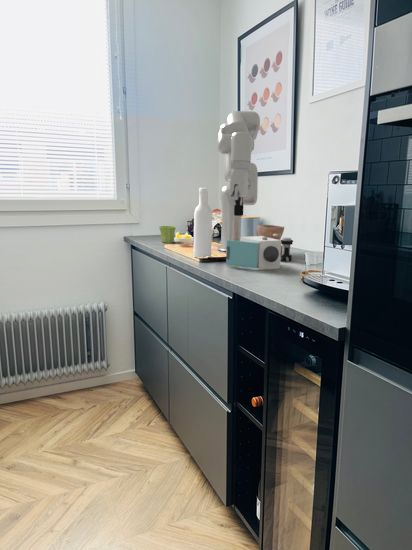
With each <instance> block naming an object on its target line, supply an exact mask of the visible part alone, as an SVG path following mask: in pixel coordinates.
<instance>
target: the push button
mask: <svg viewBox="0 0 412 550" xmlns="http://www.w3.org/2000/svg"><path fill="white" fill-rule="evenodd" d="M280 240H281V246H282V255H280V263H281V262H283V263H284V262H292V260H293V255H292V254H291V246H292V245H293V242H294V240H292V237H282V238H281V239H280Z"/></svg>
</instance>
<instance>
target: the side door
mask: <svg viewBox="0 0 412 550" xmlns="http://www.w3.org/2000/svg"><path fill="white" fill-rule="evenodd" d="M259 251H260V243H253V242H243V241H232V240H227V250H226V252H225V254H226V255H225V264H226V265H227V266H228V265H229V266H234V267H235V266H236V267H241V268H242V267H243V268H251V269H254V268H259Z"/></svg>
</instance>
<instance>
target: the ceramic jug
mask: <svg viewBox="0 0 412 550" xmlns="http://www.w3.org/2000/svg"><path fill="white" fill-rule="evenodd" d="M256 230H257V234H258V235H257V236H263V237H268V238H273V239H277V240H282V238H283V237H282V236H283V234H284V230H285V226H280V225H273V224H258V225H256ZM280 255H282V245H281V254H280Z"/></svg>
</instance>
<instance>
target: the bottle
mask: <svg viewBox="0 0 412 550" xmlns="http://www.w3.org/2000/svg"><path fill="white" fill-rule="evenodd" d="M198 193H199V195H198V197H199V198H198V205H197V206H196V207H195V209H194V212H193V253H192V254H193V257H194V256H196V257H206V256H211V257H212V236H213V235H212V233H213V230H212V229H213V228H212V226H213V211H212V208H211V207H210V205H209V204H208V200H209V199H208V196H209V189H208V187H199V189H198Z"/></svg>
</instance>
